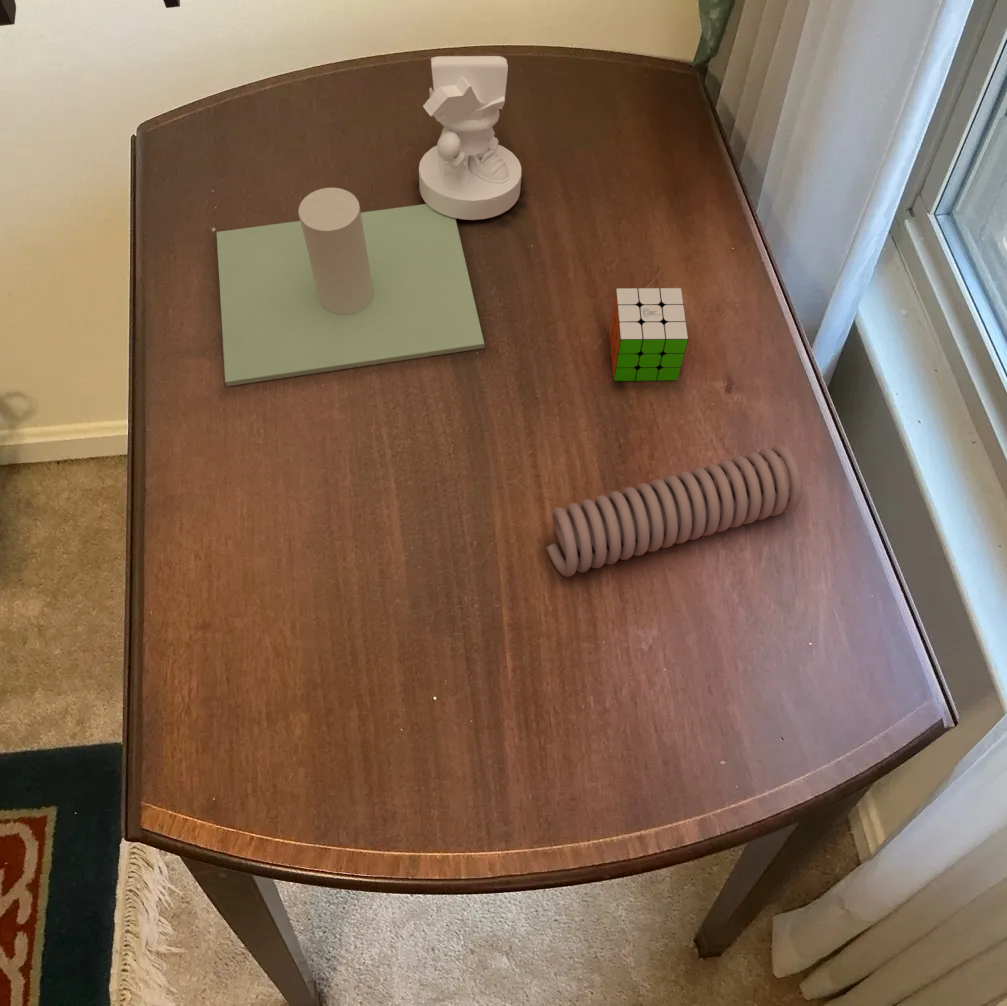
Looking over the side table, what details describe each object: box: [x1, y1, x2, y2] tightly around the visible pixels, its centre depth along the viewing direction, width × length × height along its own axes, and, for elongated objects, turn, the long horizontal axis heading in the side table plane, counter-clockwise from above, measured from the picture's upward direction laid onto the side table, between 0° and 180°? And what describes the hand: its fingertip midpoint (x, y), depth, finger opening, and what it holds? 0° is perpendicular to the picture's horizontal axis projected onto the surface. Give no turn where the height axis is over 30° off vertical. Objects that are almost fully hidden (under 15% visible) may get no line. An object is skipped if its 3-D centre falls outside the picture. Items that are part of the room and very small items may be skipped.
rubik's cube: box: [609, 287, 689, 382], centre depth 73 cm, size 5×5×5 cm
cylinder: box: [298, 187, 374, 315], centre depth 73 cm, size 4×4×9 cm
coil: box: [545, 444, 803, 578], centre depth 65 cm, size 5×5×18 cm
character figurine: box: [418, 55, 522, 221], centre depth 79 cm, size 9×10×12 cm
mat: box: [216, 203, 485, 387], centre depth 78 cm, size 20×16×1 cm
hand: (92, 7), depth 51 cm, fingers open, 8 cm apart
